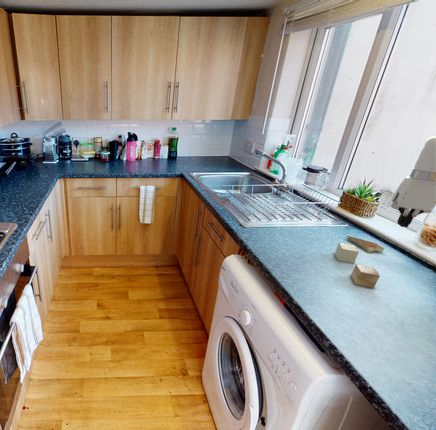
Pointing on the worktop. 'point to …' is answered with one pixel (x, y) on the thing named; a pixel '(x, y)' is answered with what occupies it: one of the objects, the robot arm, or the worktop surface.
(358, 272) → the maple block
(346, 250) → the cream block
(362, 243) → the shard
